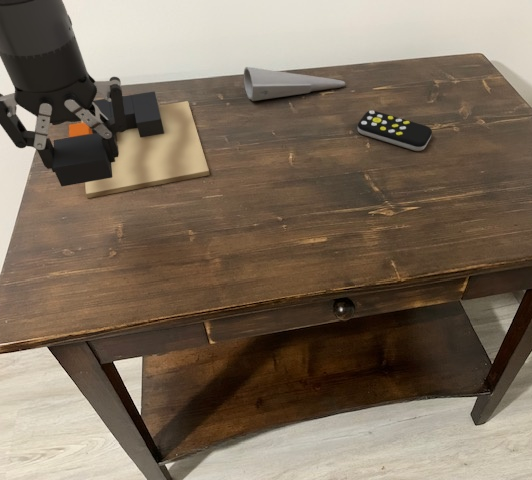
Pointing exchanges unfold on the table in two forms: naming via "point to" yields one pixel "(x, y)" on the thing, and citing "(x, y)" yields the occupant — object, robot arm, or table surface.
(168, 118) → the board
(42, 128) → the robot arm
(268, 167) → the table surface
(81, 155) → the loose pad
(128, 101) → the dark grey u-shaped block
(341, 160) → the table surface
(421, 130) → the remote control
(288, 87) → the long tapered cone
